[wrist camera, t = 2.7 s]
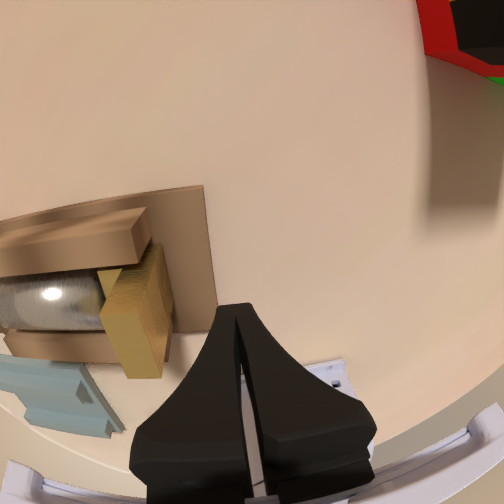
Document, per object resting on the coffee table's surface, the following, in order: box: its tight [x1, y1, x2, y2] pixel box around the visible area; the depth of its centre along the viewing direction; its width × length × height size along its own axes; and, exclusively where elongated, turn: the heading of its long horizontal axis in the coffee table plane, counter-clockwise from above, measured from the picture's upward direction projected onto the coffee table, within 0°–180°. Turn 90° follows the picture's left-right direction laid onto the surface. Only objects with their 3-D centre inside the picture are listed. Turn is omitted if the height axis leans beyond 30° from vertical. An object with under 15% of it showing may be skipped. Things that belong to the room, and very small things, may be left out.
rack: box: [0, 354, 123, 439], centre depth 20 cm, size 12×10×3 cm
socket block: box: [0, 185, 218, 363], centre depth 14 cm, size 20×9×4 cm, turn 94°
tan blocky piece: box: [97, 244, 174, 379], centre depth 13 cm, size 3×4×6 cm
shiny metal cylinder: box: [0, 267, 106, 330], centre depth 14 cm, size 8×4×4 cm, turn 94°
